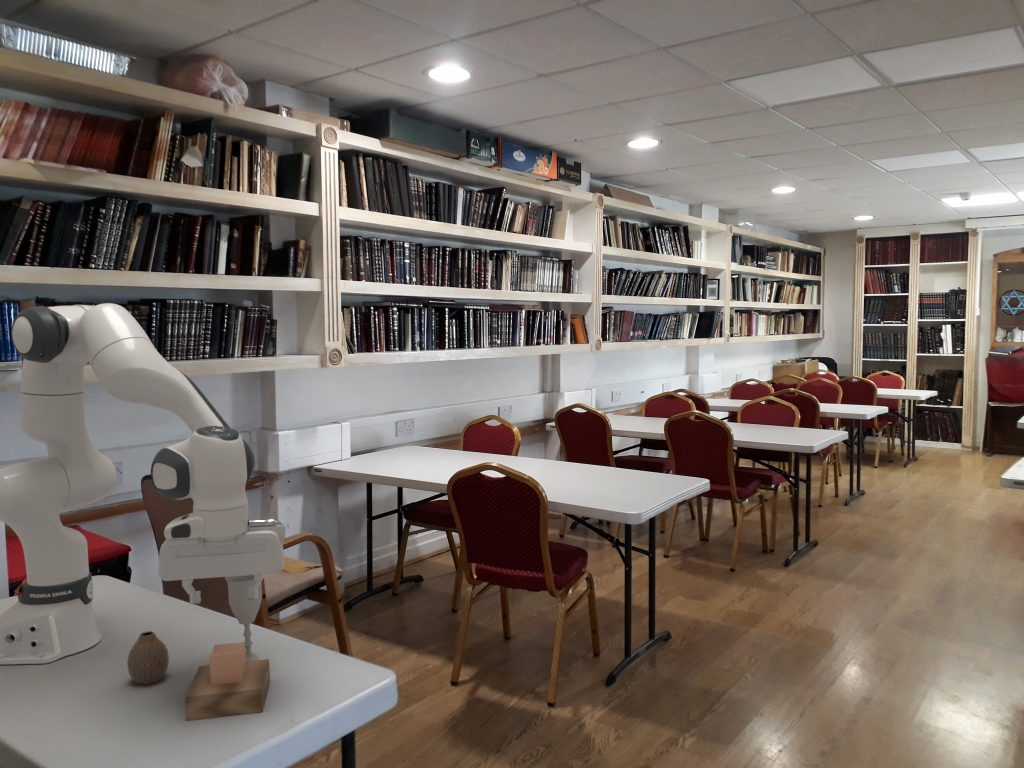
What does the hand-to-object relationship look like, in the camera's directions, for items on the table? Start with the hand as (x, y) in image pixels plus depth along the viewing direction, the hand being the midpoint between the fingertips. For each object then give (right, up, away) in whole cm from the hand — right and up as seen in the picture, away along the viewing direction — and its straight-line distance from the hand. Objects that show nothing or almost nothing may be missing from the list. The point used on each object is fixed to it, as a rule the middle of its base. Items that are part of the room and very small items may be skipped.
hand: (224, 600), depth 133 cm
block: (0, -13, +1) cm, 14 cm away
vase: (-18, -18, +10) cm, 27 cm away
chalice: (0, -17, +14) cm, 22 cm away
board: (+1, -17, +1) cm, 18 cm away
